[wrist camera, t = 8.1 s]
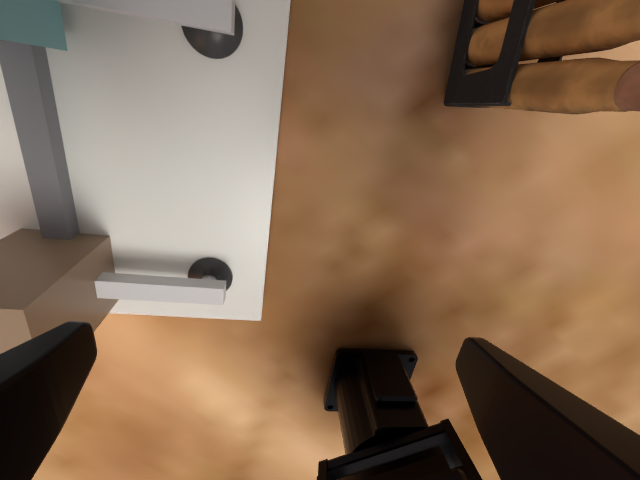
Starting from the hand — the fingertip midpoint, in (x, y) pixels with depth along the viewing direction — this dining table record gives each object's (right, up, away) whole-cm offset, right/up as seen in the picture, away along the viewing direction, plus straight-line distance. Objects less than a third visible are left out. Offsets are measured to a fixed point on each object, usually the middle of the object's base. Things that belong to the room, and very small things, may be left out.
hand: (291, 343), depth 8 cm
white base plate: (-9, +8, +8) cm, 14 cm away
